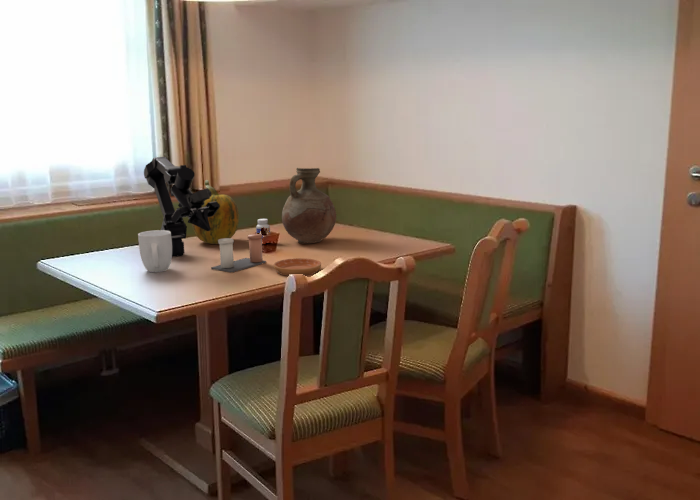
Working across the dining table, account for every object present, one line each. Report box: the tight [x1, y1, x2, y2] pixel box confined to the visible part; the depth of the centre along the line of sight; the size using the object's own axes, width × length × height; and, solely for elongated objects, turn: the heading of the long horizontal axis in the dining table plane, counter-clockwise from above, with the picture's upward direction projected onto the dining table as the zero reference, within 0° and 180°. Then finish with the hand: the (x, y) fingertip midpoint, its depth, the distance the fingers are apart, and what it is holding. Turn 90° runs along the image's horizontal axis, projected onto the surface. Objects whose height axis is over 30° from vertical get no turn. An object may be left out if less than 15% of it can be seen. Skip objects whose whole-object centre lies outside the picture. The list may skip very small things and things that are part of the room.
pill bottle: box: [255, 218, 271, 234], centre depth 294 cm, size 5×5×10 cm
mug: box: [137, 229, 173, 273], centre depth 251 cm, size 15×11×13 cm
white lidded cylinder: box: [218, 237, 235, 268], centre depth 252 cm, size 5×5×9 cm
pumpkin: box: [191, 179, 240, 245], centre depth 295 cm, size 19×19×25 cm
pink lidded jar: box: [247, 233, 264, 262], centre depth 259 cm, size 5×5×9 cm
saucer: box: [273, 257, 322, 276], centre depth 248 cm, size 16×16×3 cm
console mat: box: [210, 257, 267, 273], centre depth 258 cm, size 10×17×1 cm, turn 144°
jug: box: [281, 167, 337, 245], centre depth 292 cm, size 22×22×30 cm
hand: (209, 230), depth 256 cm, fingers closed
